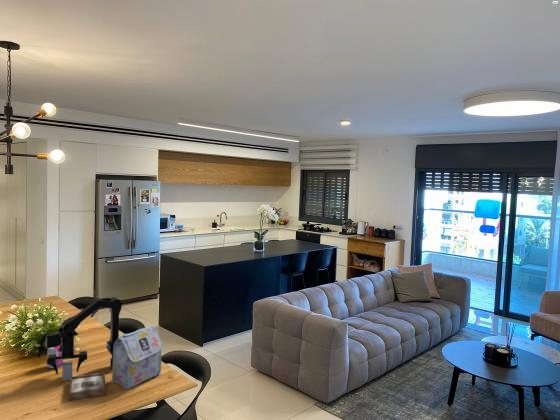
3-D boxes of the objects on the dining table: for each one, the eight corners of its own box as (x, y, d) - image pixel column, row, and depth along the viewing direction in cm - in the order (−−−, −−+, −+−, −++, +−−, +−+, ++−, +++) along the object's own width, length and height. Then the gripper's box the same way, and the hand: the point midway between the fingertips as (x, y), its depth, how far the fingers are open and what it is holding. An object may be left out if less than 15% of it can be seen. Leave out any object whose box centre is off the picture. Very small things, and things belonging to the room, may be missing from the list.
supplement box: (55, 369, 225) (56, 349, 225) (46, 368, 226) (46, 348, 226) (63, 365, 231) (63, 345, 230) (54, 364, 232) (54, 344, 231)
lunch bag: (129, 392, 205) (131, 341, 204) (108, 382, 214) (110, 333, 213) (164, 376, 224) (166, 328, 222) (144, 367, 233) (145, 321, 232)
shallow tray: (104, 378, 218) (104, 372, 218) (105, 395, 202) (105, 388, 202) (70, 383, 212) (70, 376, 211) (68, 400, 195) (68, 393, 195)
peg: (72, 375, 220) (72, 360, 220) (71, 379, 216) (72, 364, 215) (62, 376, 218) (63, 362, 218) (62, 380, 214) (62, 365, 214)
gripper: (87, 336, 227) (87, 364, 228) (49, 340, 219) (48, 369, 220) (87, 344, 217) (86, 373, 218) (47, 348, 209) (46, 378, 210)
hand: (67, 373), depth 217 cm, fingers open, 9 cm apart
